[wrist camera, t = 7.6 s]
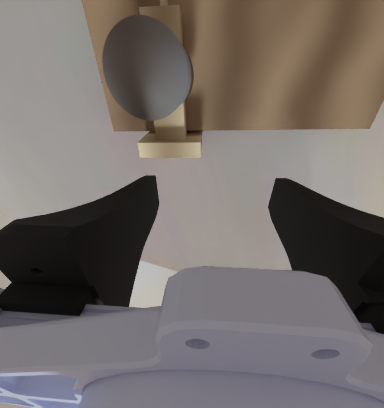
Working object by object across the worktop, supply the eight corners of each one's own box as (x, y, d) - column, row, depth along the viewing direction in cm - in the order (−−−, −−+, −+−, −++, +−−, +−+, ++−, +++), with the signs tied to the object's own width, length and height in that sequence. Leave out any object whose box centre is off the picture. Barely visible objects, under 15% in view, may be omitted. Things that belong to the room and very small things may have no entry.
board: (428, -49, 11) (467, -72, 10) (353, 123, 17) (370, 128, 15) (88, -25, 13) (71, -41, 11) (122, 126, 19) (113, 131, 17)
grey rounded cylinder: (202, 18, 13) (198, -45, 7) (201, 143, 18) (199, 180, 12) (134, 21, 14) (64, -35, 7) (152, 143, 19) (121, 179, 12)
